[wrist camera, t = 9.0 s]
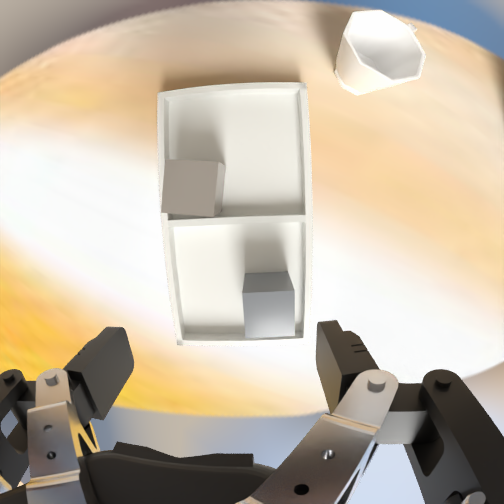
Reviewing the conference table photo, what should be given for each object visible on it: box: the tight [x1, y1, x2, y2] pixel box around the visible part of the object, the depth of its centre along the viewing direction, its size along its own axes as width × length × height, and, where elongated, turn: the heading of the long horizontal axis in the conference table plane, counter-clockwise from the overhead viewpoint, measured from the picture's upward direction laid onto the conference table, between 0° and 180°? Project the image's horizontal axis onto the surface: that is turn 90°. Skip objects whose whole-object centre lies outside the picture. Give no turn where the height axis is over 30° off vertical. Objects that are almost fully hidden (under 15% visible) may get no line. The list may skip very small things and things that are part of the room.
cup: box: [334, 10, 426, 95], centre depth 18 cm, size 7×10×8 cm
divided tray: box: [157, 82, 313, 346], centre depth 25 cm, size 13×24×2 cm, turn 2°
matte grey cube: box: [242, 271, 295, 338], centre depth 25 cm, size 4×4×5 cm
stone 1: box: [161, 159, 226, 217], centre depth 23 cm, size 4×4×5 cm
